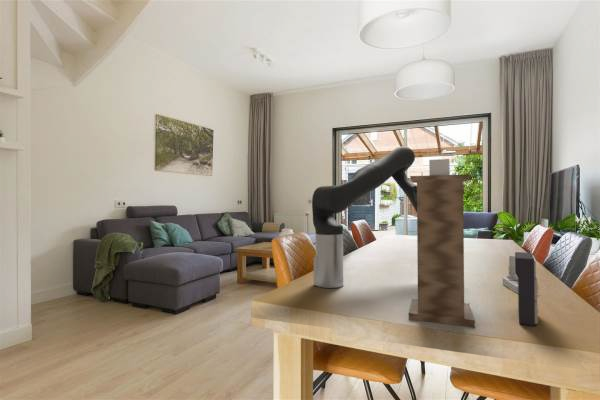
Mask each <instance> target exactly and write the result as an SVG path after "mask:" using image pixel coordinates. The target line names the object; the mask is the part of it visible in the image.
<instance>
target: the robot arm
mask: <svg viewBox="0 0 600 400" xmlns="http://www.w3.org/2000/svg"><path fill="white" fill-rule="evenodd" d="M415 159H416V155H415V152H414V151H413V149H411V148H410V147H408V146H404V145H402V146H398V147H396V148H394V149H393V150H392V151H390V152H389V153H388V154H387V155H385V156H383V157H381V158H378V159H376V160H375V161H373V162H372V161H371V162H370V163H369V164H366V165H365V166H362V167H361V168H359V169H358V170H356V171H355V172H354V173H353V176H352V178H351V179H350V180H348V181H345V182H343V183H340V184H335V185H323V186H319V187H317V188H316V189H314V191H313V194H312V199H311V209H312V210H311V211H312V223H313V227H314V231H315V256H314V257H313V286H314V285H315V286H314V287H316V286H317V287H319V288H324V289H325V288H326V289H336V288H342V287H343V286H344V227H343V225H342V224H341V223H339V222H338V221H337V220H336V219H335V216H334V214H339V213H342V212H343V211H345V210H346V209H347V208H349V207H350V206H351V205H353V204H354V203H355V202H356V201H357V200H359V199H360V198H362V197H364V196H366V195H367V194H369V193H371V192H372V191H374V190H376V189H377V188H380V187H381V186H382V185H383V184H384V183H386V182H387V181H388V180H389V179H390V178H391V177H392V179H393V180H394V181H395V183H396V185H398V186H399V188H400V189H401V190H402V191H403V193H404V194H405V195H406V197H407V198H408V200H409V201H410V203H411V205H412V207H413V209H414V211H415V212H416V213H417V184H415V183H413V182H412V181H411V180H410V178H408V176H407V173H406V172H407V171H408V169H409V168H410V167H412V165H413V164H414V162H415ZM464 194H465V186H464V184H463V196H464Z"/></svg>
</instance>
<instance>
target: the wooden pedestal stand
mask: <svg viewBox="0 0 600 400" xmlns="http://www.w3.org/2000/svg"><path fill="white" fill-rule="evenodd" d="M409 177H410V178H409V180H410V181H411V182H412V183H414V184H415V183H416V185H417V212H416V214H417V215H416V218H417V219H416V220H417V221H416V222H417V223H416V229H417V230H416V232H417V233H416V234H417V237H416V239H417V241H416V243H417V249H416V250H417V252H416V253H417V298H411V301H410V306H409V308H408V309H409V310H408V320H409V321H410V320H412V321H419V322H420V321H421V322H427V323H437V324H447V325H455V326H464V327H470V328H471V327H473V328H475V327H476V320H475V316H474V314H473V312H472V308H471V306H470V303H465V253H464V250H465V247H464V246H465V244H464V243H465V240H464V239H465V236H464V234H465V233H464V232H465V231H464V225H465V224H464V195H463V185H464V182H467V181H469V180H470V179H471V174H470V173H468V174H465V173H464V174H450V175H410V176H409Z"/></svg>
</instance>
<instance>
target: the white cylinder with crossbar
mask: <svg viewBox="0 0 600 400" xmlns="http://www.w3.org/2000/svg"><path fill="white" fill-rule="evenodd" d="M428 166H429V167H428V168H429V169H428V170H429V173H428V174H429V175H451V174H450V158H444V159H443V158H442V159H429V165H428ZM429 175H428V176H429Z"/></svg>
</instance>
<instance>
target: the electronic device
mask: <svg viewBox="0 0 600 400" xmlns="http://www.w3.org/2000/svg"><path fill="white" fill-rule="evenodd" d="M502 284H503V286H505V287H506V288H508V289H510V290H511V291H512V292H514V293H515V294H517V295H518V277H517V275H516V273H515V255H514V256H513V255H509V256H508V274H506V276H503V277H502Z"/></svg>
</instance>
